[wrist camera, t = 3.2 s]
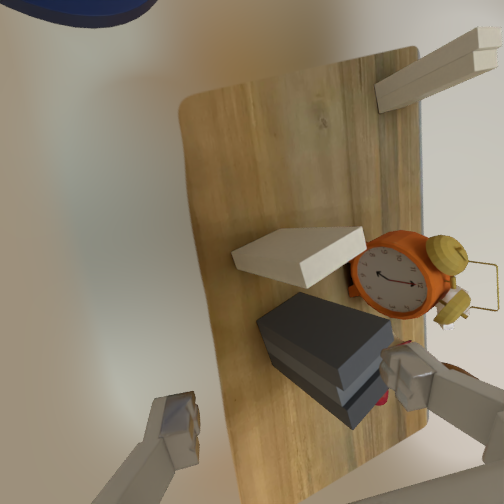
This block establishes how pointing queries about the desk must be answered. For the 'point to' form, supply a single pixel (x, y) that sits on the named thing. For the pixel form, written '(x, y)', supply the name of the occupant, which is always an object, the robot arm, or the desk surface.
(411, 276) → the alarm clock
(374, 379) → the grey books
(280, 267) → the white book
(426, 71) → the white books
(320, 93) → the desk surface
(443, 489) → the robot arm
